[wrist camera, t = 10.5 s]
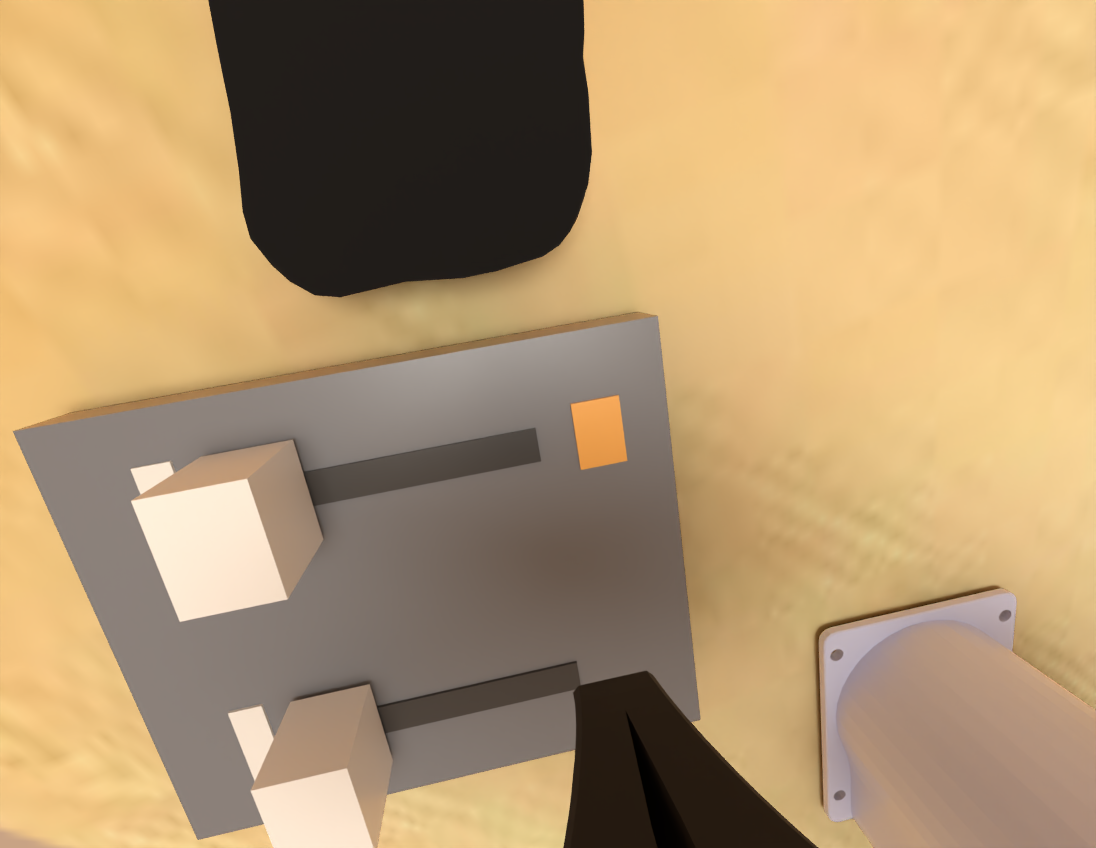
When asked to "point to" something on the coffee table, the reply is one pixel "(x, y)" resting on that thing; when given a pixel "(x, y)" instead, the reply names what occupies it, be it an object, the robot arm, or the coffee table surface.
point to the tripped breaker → (231, 529)
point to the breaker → (326, 773)
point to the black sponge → (405, 134)
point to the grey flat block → (400, 553)
